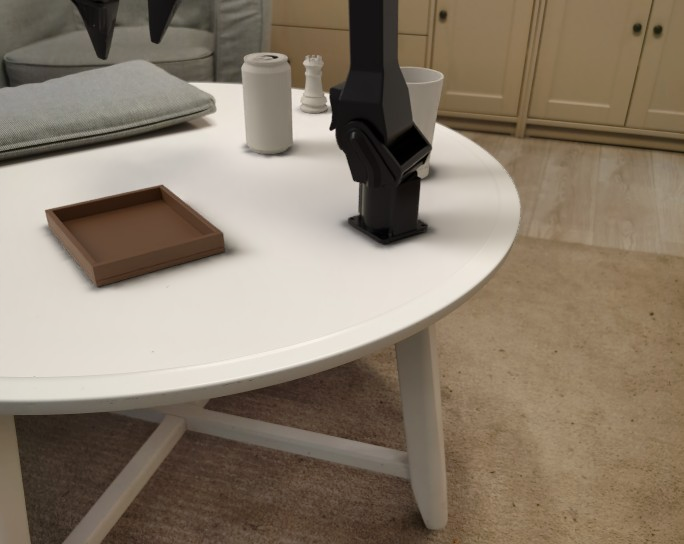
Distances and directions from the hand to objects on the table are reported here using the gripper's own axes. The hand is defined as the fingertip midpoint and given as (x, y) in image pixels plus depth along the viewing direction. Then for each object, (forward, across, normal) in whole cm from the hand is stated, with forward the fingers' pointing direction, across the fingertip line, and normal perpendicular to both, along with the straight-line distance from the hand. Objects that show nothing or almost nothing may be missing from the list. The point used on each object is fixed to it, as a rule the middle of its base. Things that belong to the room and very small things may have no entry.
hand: (129, 50), depth 81 cm
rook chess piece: (+14, -34, +8) cm, 38 cm away
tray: (+12, +16, +13) cm, 24 cm away
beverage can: (+13, -15, +11) cm, 23 cm away
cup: (+10, -16, +31) cm, 36 cm away
